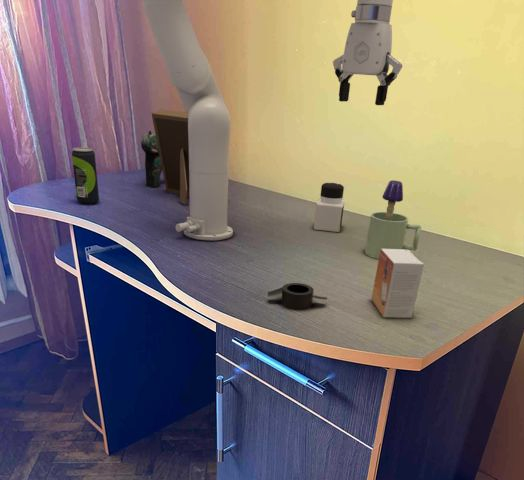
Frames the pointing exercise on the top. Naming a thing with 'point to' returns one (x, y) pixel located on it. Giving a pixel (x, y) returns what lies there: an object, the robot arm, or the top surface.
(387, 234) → the mug
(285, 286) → the black ring with tabs
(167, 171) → the photo frame
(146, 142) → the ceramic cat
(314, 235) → the top surface
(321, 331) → the top surface
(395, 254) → the small box
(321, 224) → the medicine bottle
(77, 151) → the beverage can
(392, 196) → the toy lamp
